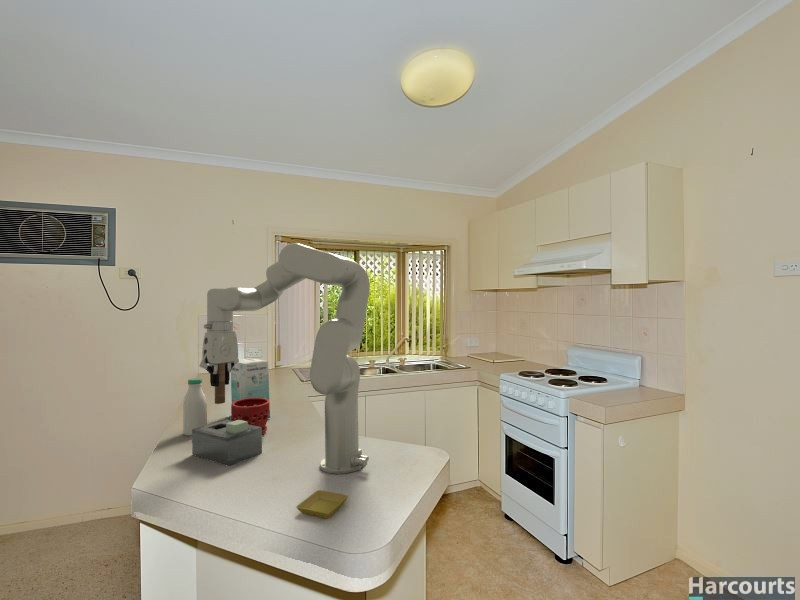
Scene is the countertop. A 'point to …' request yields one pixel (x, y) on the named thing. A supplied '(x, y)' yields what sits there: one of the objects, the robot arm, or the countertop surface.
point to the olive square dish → (322, 503)
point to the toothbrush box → (250, 380)
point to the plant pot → (251, 411)
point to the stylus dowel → (220, 385)
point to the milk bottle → (194, 407)
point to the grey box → (226, 443)
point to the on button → (236, 426)
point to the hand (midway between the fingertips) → (220, 384)
